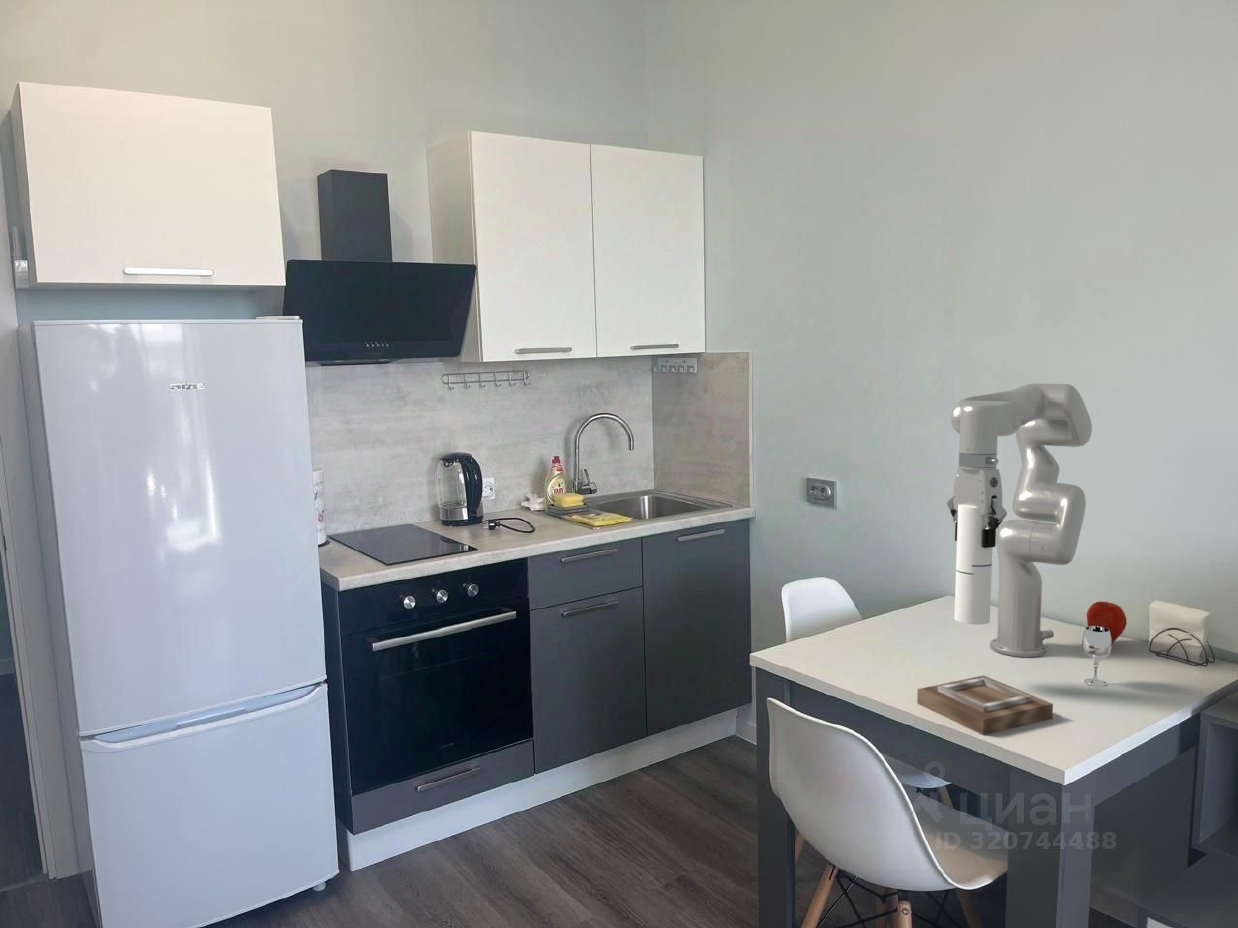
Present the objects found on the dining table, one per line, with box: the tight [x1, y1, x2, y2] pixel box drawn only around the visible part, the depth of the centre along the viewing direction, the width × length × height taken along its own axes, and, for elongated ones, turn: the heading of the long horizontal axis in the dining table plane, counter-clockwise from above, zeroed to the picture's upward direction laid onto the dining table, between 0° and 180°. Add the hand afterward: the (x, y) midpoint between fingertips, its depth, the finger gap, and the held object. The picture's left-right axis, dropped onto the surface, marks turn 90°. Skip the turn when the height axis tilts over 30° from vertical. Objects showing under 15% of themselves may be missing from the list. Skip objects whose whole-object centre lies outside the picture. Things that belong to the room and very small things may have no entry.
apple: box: [1086, 601, 1128, 644], centre depth 228 cm, size 9×8×11 cm
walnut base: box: [916, 675, 1054, 736], centre depth 189 cm, size 18×18×4 cm
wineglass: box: [1081, 625, 1113, 687], centre depth 202 cm, size 6×6×12 cm
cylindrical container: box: [954, 504, 994, 626], centre depth 201 cm, size 7×7×25 cm
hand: (974, 543), depth 200 cm, fingers closed on cylindrical container, 7 cm apart
